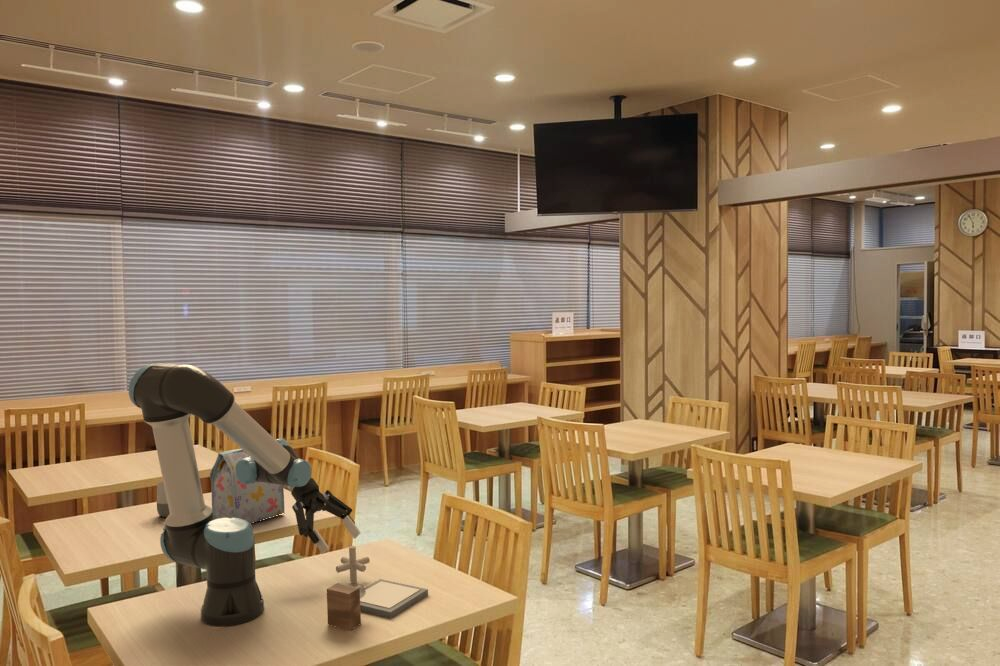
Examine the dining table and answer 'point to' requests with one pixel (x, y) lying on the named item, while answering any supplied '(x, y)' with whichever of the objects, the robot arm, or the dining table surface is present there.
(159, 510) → the smart speaker
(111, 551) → the dining table surface
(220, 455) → the lunch bag
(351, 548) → the pipe connector
